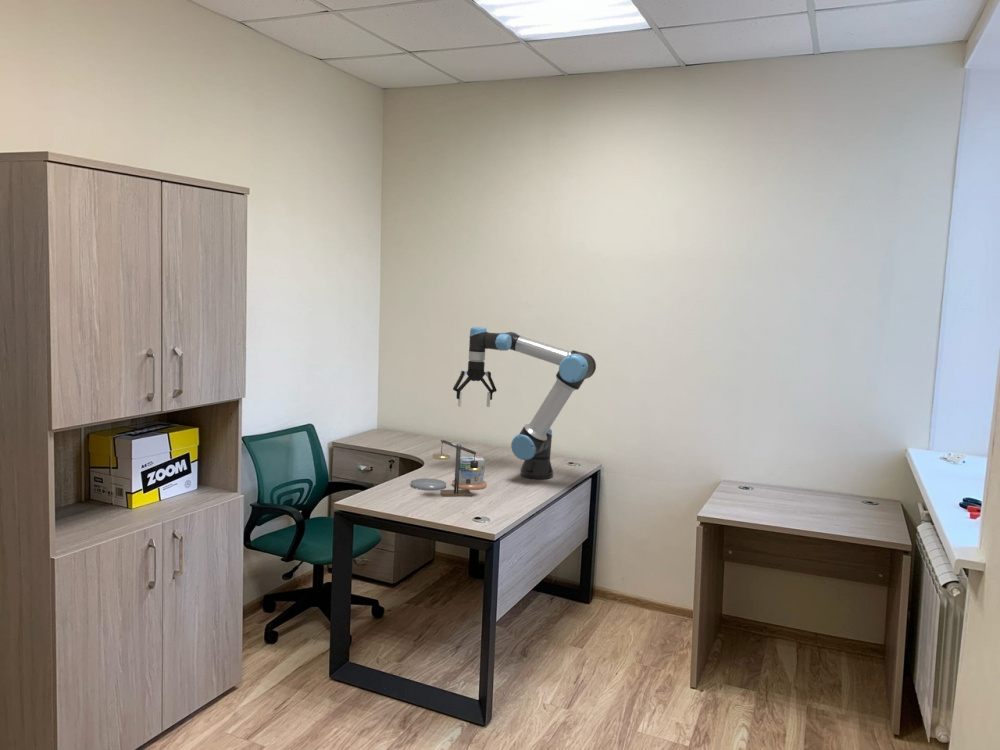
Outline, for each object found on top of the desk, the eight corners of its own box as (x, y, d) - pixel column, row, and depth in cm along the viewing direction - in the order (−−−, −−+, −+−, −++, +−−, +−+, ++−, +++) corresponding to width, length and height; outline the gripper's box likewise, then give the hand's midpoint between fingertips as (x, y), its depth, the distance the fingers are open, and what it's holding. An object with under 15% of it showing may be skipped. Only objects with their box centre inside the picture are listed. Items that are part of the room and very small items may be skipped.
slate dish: (442, 481, 338) (442, 478, 337) (449, 490, 323) (449, 487, 323) (408, 481, 333) (408, 478, 333) (413, 490, 319) (414, 487, 319)
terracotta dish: (481, 480, 342) (482, 477, 342) (490, 489, 328) (490, 486, 328) (448, 480, 338) (449, 478, 338) (456, 490, 324) (456, 487, 324)
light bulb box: (459, 484, 328) (461, 460, 327) (456, 480, 335) (457, 456, 334) (484, 484, 331) (485, 460, 330) (480, 480, 338) (481, 456, 337)
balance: (478, 491, 324) (481, 437, 321) (482, 496, 317) (485, 441, 314) (429, 492, 318) (432, 437, 315) (432, 497, 311) (435, 441, 309)
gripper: (500, 360, 359) (497, 405, 361) (448, 358, 352) (445, 404, 354) (504, 362, 352) (502, 408, 354) (451, 360, 345) (449, 407, 347)
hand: (473, 406), depth 354 cm, fingers open, 13 cm apart
